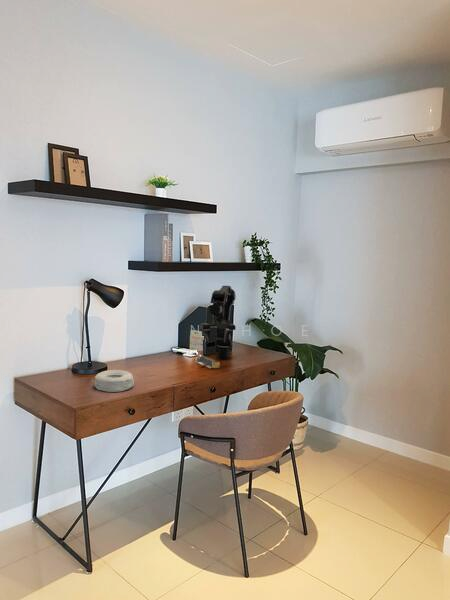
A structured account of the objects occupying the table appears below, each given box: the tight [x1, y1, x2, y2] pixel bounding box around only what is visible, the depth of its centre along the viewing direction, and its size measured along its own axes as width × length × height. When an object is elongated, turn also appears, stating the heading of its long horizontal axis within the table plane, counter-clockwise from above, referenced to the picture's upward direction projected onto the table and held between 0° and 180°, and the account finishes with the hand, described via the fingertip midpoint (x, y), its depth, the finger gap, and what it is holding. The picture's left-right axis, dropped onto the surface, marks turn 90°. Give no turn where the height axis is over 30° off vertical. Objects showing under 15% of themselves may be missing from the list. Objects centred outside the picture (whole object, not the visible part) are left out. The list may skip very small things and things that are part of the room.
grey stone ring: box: [94, 369, 135, 393], centre depth 217 cm, size 18×18×6 cm
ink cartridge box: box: [189, 329, 204, 355], centre depth 289 cm, size 9×5×15 cm, turn 62°
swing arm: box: [196, 354, 221, 369], centre depth 265 cm, size 18×4×4 cm, turn 36°
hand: (216, 342), depth 260 cm, fingers open, 9 cm apart
